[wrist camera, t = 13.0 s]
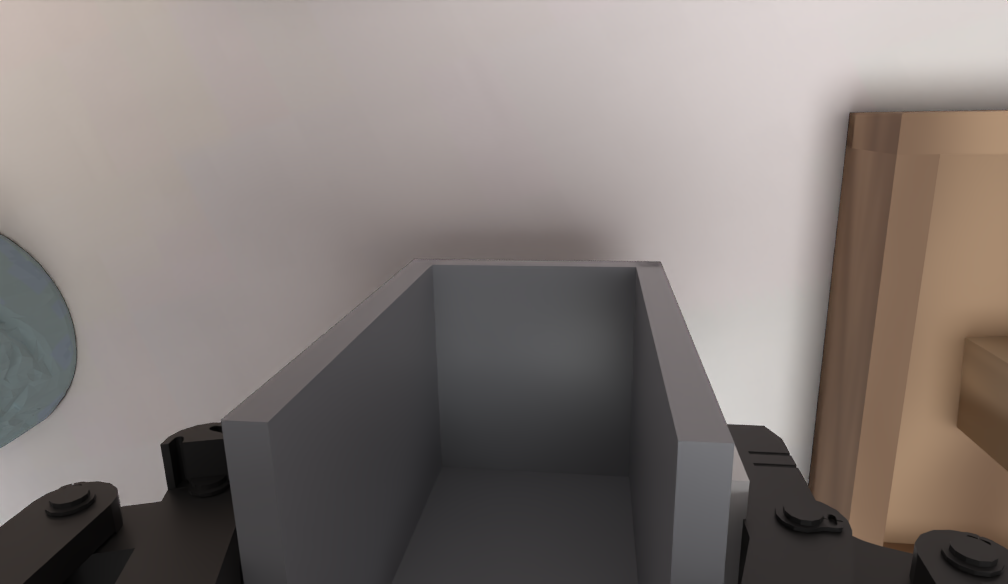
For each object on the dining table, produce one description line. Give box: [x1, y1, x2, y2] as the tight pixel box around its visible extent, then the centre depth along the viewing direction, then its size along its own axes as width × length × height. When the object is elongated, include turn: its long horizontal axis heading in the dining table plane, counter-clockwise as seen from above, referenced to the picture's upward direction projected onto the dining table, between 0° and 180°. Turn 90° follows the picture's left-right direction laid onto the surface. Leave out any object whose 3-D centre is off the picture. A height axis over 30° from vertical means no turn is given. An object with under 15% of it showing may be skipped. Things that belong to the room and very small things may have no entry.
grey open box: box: [221, 259, 735, 584], centre depth 13 cm, size 6×6×9 cm
